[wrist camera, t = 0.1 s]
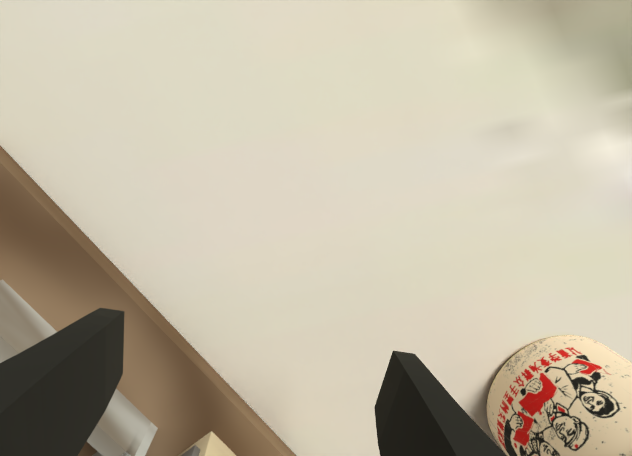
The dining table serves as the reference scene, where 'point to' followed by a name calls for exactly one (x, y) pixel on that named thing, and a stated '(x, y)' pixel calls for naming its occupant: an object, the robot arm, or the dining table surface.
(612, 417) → the teacup with lid
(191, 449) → the beige pillar with cap
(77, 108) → the dining table surface
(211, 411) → the post board
